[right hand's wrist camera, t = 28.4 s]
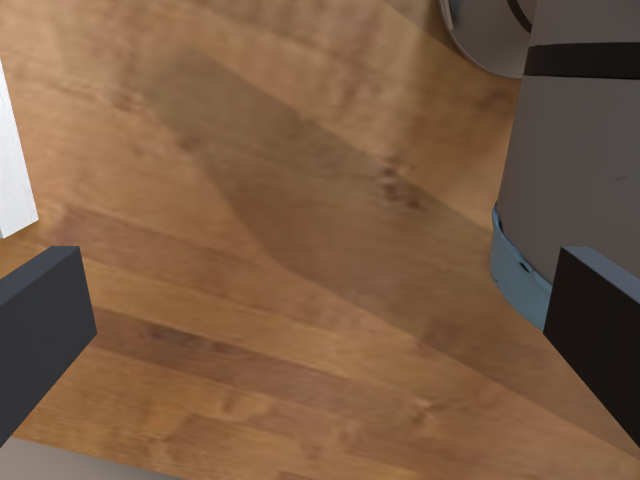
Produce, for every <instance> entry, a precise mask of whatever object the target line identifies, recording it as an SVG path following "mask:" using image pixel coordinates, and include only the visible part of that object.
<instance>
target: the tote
mask: <svg viewBox="0 0 640 480" xmlns="http://www.w3.org/2000/svg"><path fill="white" fill-rule="evenodd" d="M37 220H39V219H38V214H37V210H36V206H35V202H34V198H33V194H32V189H31V185H30V181H29V177H28V173H27V169H26V164H25V160H24V156H23V152H22V148H21V144H20V139H19V135H18V131H17V127H16V123H15V119H14V114H13V110H12V106H11V102H10V98H9V93H8V89H7V85H6V81H5V77H4V73H3V68H2V64H1V60H0V239H4V238H6V237H8V236H9V235H11V234H13V233H15V232H17V231H19V230H21V229H23V228H24V227H26V226H28V225H30V224H32V223H34V222H35V221H37Z"/></svg>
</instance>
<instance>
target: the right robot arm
mask: <svg viewBox="0 0 640 480" xmlns="http://www.w3.org/2000/svg"><path fill="white" fill-rule="evenodd" d="M437 6H438V11H439V15H440V18H441V21H442V24H443V27H444V29H445V31H446V33H447V35H448V37H449V39H450V41H451V42H452V43H453V45H454V46H455V48H456V49H457V50H458V51H459V53H460V54H461V55H462V56H463V57H464V58H465V59H466V60H468V61H469V62H470V63H471V64H473V65H474V66H476V67H477V68H479V69H481V70H483V71H485V72H487V73H489V74H492V75H495V76H499V77H504V78H511V79H521V84H520V90H519V95H518V100H517V106H516V111H515V116H514V122H513V127H512V132H511V137H510V143H509V148H508V153H507V158H506V163H505V168H504V172H503V177H502V182H501V187H500V191H499V196H498V200H497V201H496V203H495V206H494V208H493V212H492V221H493V226H494V229H493V237H492V244H491V251H490V259H489V264H490V271H491V275H492V278H493V281H494V282H495V284H496V286H497V287H498V289H499V290H500V291H501V292H502V295H503V297H504V299H505V300H506V301H507V302H508V303H509V304H510V305H511V307H513V308H514V309H515V310H516V311H517V312H518V313H519V314H520V315H521V316H522V317H523V318H525V319H526V320H527V321H528V322H530V323H531V324H532V325H534V326H535V327H537V328H538V329H540V330H541V331H543V334H544V335H545V337H546V338H547V339H548V340H549V341H550V342H551V344H552V345H553V346H554V347H555V348H556V350H557V351H558V352H559V353H560V354H561V355H562V357H563V358H564V359H565V360H566V361H567V363H568V364H569V365H570V366H571V367H572V368H573V370H574V371H575V372H576V373H577V374H578V376H579V377H580V378H581V379H582V380H583V381H584V383H585V384H586V385H587V386H588V387H589V389H590V390H591V391H592V392H593V393H594V395H595V396H596V397H597V398H598V399H599V400H600V402H601V403H602V404H603V405H604V406H605V408H606V409H607V410H608V411H609V412H610V413H611V415H612V416H613V417H614V418H615V419H616V421H617V422H618V423H619V424H620V425H621V426H622V428H623V429H624V430H625V431H626V432H627V434H628V435H629V436H630V437H631V438H632V439H633V441H634V442H635V443H636V444H637V445H638V447H639V448H640V0H437ZM548 76H549V77H548ZM96 334H97V329H96V325H95V320H94V315H93V310H92V305H91V301H90V296H89V291H88V286H87V282H86V277H85V272H84V267H83V262H82V258H81V253H80V248H79V246H51V247H49V248H48V249H46V250H45V251H43V252H42V253H40V254H39V255H37V256H36V257H34V258H33V259H31V260H29V261H28V262H26V263H25V264H23V265H22V266H20V267H19V268H17V269H16V270H14V271H13V272H11V273H10V274H8V275H7V276H5V277H4V278H2V279H1V280H0V448H1V447H2V445H3V444H4V443H5V442H6V441H7V439H8V438H9V437H10V436H11V435H12V434H13V432H14V431H15V430H16V429H17V428H18V426H19V425H20V424H21V423H22V422H23V421H24V419H25V418H26V417H27V416H28V415H29V413H30V412H31V411H32V410H33V409H34V408H35V406H36V405H37V404H38V403H39V402H40V400H41V399H42V398H43V397H44V396H45V395H46V393H47V392H48V391H49V390H50V389H51V387H52V386H53V385H54V384H55V383H56V381H57V380H58V379H59V378H60V377H61V376H62V374H63V373H64V372H65V371H66V370H67V368H68V367H69V366H70V365H71V364H72V363H73V361H74V360H75V359H76V358H77V357H78V355H79V354H80V353H81V352H82V351H83V350H84V348H85V347H86V346H87V345H88V344H89V342H90V341H91V340H92V339H93V338H94V337H95V335H96Z"/></svg>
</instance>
